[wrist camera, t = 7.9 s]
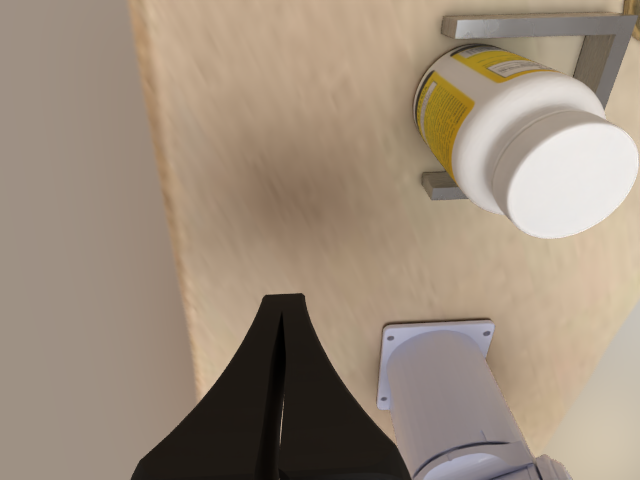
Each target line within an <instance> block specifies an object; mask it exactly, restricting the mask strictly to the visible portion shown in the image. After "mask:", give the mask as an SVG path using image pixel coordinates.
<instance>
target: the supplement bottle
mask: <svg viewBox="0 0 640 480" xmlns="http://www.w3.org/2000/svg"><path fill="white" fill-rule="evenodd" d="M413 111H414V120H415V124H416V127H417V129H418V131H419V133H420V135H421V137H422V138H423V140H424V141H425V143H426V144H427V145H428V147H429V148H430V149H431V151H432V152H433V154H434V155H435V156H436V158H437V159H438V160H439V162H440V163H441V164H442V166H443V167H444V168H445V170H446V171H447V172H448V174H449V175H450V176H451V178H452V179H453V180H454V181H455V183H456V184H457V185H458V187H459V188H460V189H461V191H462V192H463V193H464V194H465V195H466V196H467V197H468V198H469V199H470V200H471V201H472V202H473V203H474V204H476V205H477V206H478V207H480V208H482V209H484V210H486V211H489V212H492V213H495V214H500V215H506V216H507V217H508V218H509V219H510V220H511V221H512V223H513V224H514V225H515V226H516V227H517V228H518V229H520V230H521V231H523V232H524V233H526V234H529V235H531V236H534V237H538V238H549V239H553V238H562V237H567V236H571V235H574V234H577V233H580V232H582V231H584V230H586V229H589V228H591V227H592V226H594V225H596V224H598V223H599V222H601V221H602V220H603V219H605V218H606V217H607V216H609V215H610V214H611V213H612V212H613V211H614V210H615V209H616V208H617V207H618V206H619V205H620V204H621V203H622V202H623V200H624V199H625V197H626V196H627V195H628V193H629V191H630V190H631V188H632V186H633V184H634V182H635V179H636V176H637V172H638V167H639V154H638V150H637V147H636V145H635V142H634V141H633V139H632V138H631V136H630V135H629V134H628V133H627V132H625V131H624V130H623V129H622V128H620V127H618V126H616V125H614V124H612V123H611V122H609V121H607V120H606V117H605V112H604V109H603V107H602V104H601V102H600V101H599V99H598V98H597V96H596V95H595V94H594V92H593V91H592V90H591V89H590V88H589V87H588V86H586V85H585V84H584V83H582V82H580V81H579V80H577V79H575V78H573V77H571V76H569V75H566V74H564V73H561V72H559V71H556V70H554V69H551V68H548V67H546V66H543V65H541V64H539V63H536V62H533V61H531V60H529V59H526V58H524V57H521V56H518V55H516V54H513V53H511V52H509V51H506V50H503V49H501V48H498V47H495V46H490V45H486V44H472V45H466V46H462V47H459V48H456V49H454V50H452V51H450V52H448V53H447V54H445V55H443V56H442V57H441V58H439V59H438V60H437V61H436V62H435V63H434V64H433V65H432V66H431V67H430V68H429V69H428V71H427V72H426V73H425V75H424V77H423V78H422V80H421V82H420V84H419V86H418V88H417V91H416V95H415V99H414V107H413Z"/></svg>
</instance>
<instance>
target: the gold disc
mask: <svg viewBox="0 0 640 480" xmlns="http://www.w3.org/2000/svg"><path fill="white" fill-rule="evenodd" d="M624 14H631V15H638V18H637V21H636V24H635V26H634V29H633V32H632V36H633V37H634V38H636V39H637V40H639V41H640V0H625V3H624Z"/></svg>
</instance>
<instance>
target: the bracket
mask: <svg viewBox="0 0 640 480" xmlns="http://www.w3.org/2000/svg"><path fill="white" fill-rule="evenodd" d="M637 18H638V15H631V14H622V13H613V12H585V13H548V14H510V15H473V16H443V22H442V30H441V34H444V35H446V36H449V37H451V38H454V39H469V38H504V37H539V36H574V35H586V37H585V40H584V44H583V47H582V50H581V54H580V57H579V60H578V63H577V67H576V70H575V73H574V76H573V78H575V79H577V80H579V81H580V82H582V83H584V84H585V85H586V86H588V87H589V88H590V89H591V90H592V91H593V92H594V94H595V95H596V96H597V98H598V99H599V101H600V102H601V104H602V107H603V109H604V110H605V107H606V104H607V101H608V99H609V96H610V93H611V90H612V88H613V85H614V82H615V79H616V76H617V74H618V71H619V68H620V65H621V63H622V60H623V57H624V54H625V51H626V49H627V46H628V43H629V40H630V38H631V35H632V32H633V29H634V26H635V24H636V21H637ZM422 186H423V187H424V189H425V191H426V192H427V194H428V196H429V197H430V199H431V200H451V199H469V198H468V197H467V196H466V195H465V194H464V193H463V192H462V191H461V189H460V188H459V187H458V185H457V184H456V183H455V181H454V180H453V179H452V178H451V176H450V175H449V174H448V172H428V173H423V177H422Z"/></svg>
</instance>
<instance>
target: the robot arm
mask: <svg viewBox="0 0 640 480" xmlns="http://www.w3.org/2000/svg"><path fill="white" fill-rule="evenodd" d="M494 329H495V325H494V323H493V322H492V321H491V320H478V321H458V322H437V323H417V324H397V325H388V326H386V327H385V328H384V329H383V338H382V349H381V360H380V371H379V382H378V393H377V408H378V409H380V410H390V413H391V418H392V423H393V427H394V432H395V437H396V441H397V446H398V448H397V446H396V445H395V444H394V443H393V442H392V441H391V440H390V439H389V438H388V437H387V436H386V434H385V433H384V432H383V431H382V430H381V429H380V428H379V427H378V426H377V425H376V424H375V423H374V421H373V420H372V419H371V418H370V417H369V416H368V415H367V413H366V412H365V411H364V410H363V408H362V407H361V406H360V405H359V403H358V402H357V401H356V399H355V398H354V397H353V396H352V394H351V393H350V392H349V390H348V389H347V387H346V386H345V384H344V383H343V382H342V380H341V379H340V377H339V375H338V374H337V372H336V371H335V369H334V367H333V366H332V364H331V362H330V361H329V359H328V357H327V355H326V353H325V351H324V349H323V347H322V345H321V343H320V341H319V339H318V337H317V335H316V332H315V330H314V328H313V325H312V323H311V320H310V317H309V314H308V311H307V307H306V302H305V296H304V295H303V294H302V293H297V294H275V295H265V296H264V297H263V299H262V302H261V305H260V307H259V310H258V312H257V314H256V317H255V319H254V321H253V323H252V325H251V327H250V329H249V331H248V332H247V334H246V336H245V338H244V340H243V342H242V344H241V345H240V347H239V348H238V350H237V352H236V353H235V355H234V357H233V358H232V360H231V361H230V363H229V364H228V366H227V367H226V369H225V370H224V372H223V373H222V374H221V376H220V377H219V378H218V380H217V381H216V383H215V384H214V385H213V386H212V388H211V389H210V390H209V391H208V393H207V394H206V395H205V396H204V397H203V399H202V400H201V401H200V402H199V403H198V404H197V406H196V407H195V408H194V409H193V410H192V411H191V412H190V413H189V414H188V415H187V416H186V417H185V418H184V420H183V421H182V422H181V423H180V424H179V425H178V426H177V427H176V428H175V429H174V430H173V431H172V432H171V433H170V434H169V435H168V436H167V437H166V438H164V439H163V440H162V441H161V442H160V443H159V444H158V445H157V446H156V447H155V448H153V449H152V450H151V451H150V452H149V453H148V454H147V455H146V456H145V457H144V458H142V459H141V460H140V461H139V463H138V465H137V467H136V469H135V471H134V473H133V475H132V477H131V480H279V479H280V480H573V479H572V477H571V476H570V474H569V473H568V471H567V470H566V468H565V467H564V465H563V464H562V463H560V462H558V461H556V460H554V459H551V458H550V457H549V456H548V455H545V454H544V455H541V456H540V457H537V458H535V457H534V455H533V454H532V453H531V451H530V449H529V447H528V445H527V443H526V441H525V439H524V437H523V435H522V433H521V431H520V429H519V427H518V425H517V423H516V421H515V419H514V417H513V415H512V413H511V411H510V409H509V407H508V405H507V403H506V401H505V399H504V397H503V395H502V392H501V390H500V388H499V386H498V384H497V382H496V380H495V378H494V376H493V374H492V372H491V370H490V368H489V366H488V364H487V362H486V360H485V359H486V356H487V352H488V349H489V346H490V342H491V339H492V336H493V332H494ZM485 331H486V332H485ZM389 336H391V337H389ZM283 400H284V406H283ZM282 410H283V419H282ZM281 419H282V432H281V442H280V430H281Z"/></svg>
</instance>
